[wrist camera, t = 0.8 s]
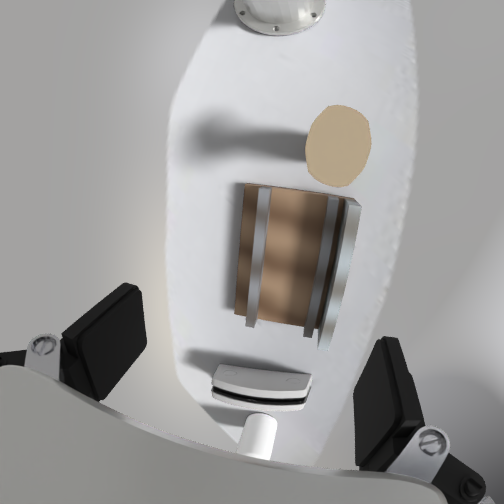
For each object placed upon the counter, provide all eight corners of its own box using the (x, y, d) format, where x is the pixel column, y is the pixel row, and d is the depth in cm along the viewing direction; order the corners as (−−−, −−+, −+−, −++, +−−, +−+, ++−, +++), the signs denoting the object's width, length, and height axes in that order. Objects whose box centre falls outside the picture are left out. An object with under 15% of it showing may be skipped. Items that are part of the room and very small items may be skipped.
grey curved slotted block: (220, 382, 50) (201, 406, 40) (221, 360, 50) (201, 380, 40) (309, 393, 46) (308, 421, 37) (313, 370, 46) (312, 395, 37)
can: (241, 421, 53) (226, 465, 42) (256, 407, 50) (241, 455, 39) (267, 433, 52) (256, 477, 41) (283, 420, 50) (274, 467, 39)
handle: (303, 168, 35) (296, 174, 21) (317, 122, 33) (319, 97, 19) (339, 181, 34) (355, 195, 21) (353, 134, 32) (379, 118, 18)
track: (247, 183, 37) (234, 188, 31) (353, 198, 35) (361, 206, 29) (236, 309, 44) (224, 332, 38) (327, 324, 41) (327, 351, 35)
